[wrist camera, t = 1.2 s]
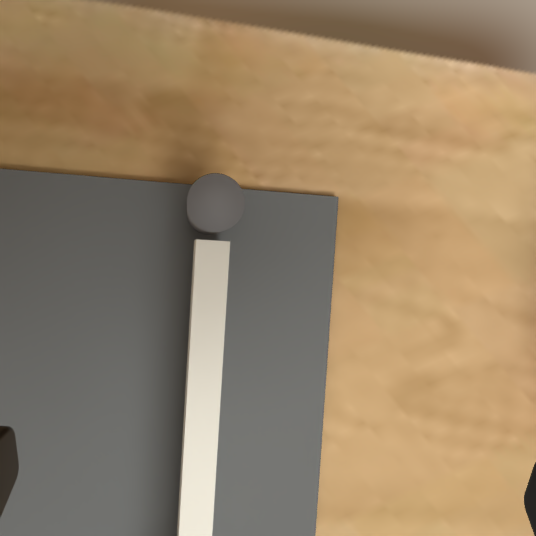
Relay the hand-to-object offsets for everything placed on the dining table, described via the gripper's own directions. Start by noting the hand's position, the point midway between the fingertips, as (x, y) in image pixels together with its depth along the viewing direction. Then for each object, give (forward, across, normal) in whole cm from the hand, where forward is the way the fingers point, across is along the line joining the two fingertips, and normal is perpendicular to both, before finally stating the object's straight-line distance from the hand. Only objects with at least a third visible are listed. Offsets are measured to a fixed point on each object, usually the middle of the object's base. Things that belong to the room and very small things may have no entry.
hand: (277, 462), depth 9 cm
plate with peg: (+12, +8, +9) cm, 17 cm away
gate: (+12, +3, +9) cm, 15 cm away
